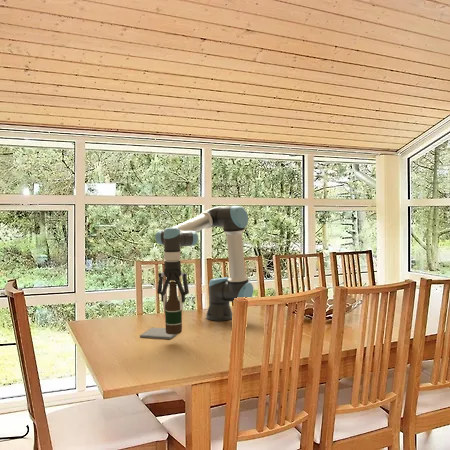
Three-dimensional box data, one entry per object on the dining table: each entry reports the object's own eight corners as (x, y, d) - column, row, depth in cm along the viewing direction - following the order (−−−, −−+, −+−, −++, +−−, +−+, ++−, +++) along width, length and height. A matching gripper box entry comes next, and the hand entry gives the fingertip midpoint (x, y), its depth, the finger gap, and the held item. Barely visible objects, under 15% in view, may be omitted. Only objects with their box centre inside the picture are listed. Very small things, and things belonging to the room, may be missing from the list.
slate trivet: (181, 331, 246) (181, 329, 246) (170, 339, 230) (170, 337, 230) (152, 329, 249) (152, 327, 249) (139, 337, 234) (139, 335, 234)
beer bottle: (166, 335, 220) (165, 283, 219) (164, 331, 228) (163, 281, 227) (183, 333, 222) (182, 282, 221) (180, 329, 230) (179, 280, 229)
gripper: (195, 259, 225) (196, 308, 226) (155, 259, 229) (156, 306, 230) (190, 261, 217) (191, 311, 218) (149, 261, 222) (150, 310, 223)
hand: (173, 308), depth 224 cm, fingers closed on beer bottle, 7 cm apart
